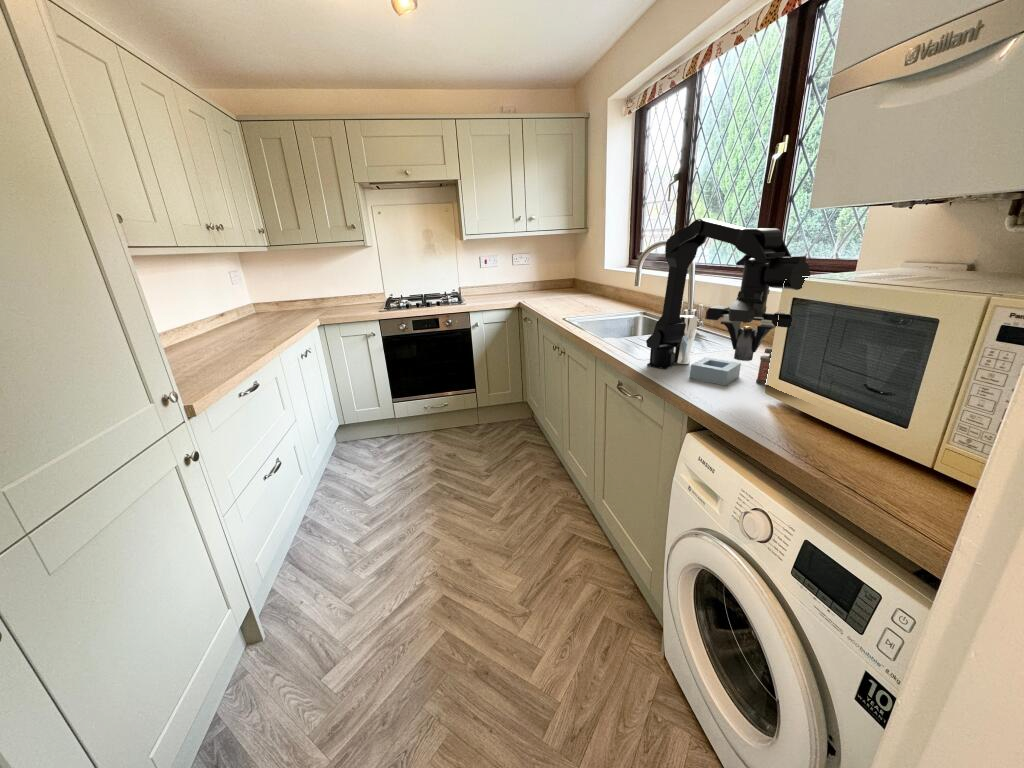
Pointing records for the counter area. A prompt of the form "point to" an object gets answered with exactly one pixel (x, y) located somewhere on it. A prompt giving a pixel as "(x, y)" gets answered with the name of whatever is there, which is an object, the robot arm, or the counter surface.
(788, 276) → the robot arm
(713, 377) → the box
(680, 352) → the shiny silver cylinder
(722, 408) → the counter surface
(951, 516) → the counter surface
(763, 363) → the red decorated tea tin
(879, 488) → the counter surface
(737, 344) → the cell
